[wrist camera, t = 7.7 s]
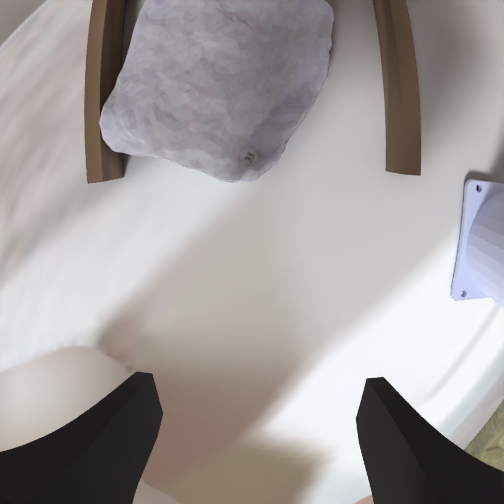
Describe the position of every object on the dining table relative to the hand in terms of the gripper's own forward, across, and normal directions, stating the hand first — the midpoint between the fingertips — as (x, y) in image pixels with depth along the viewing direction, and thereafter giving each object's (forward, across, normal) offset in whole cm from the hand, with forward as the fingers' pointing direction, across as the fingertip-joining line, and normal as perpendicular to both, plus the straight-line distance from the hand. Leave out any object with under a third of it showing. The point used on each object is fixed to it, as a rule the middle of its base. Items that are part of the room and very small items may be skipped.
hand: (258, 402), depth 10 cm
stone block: (+10, +2, -12) cm, 16 cm away
